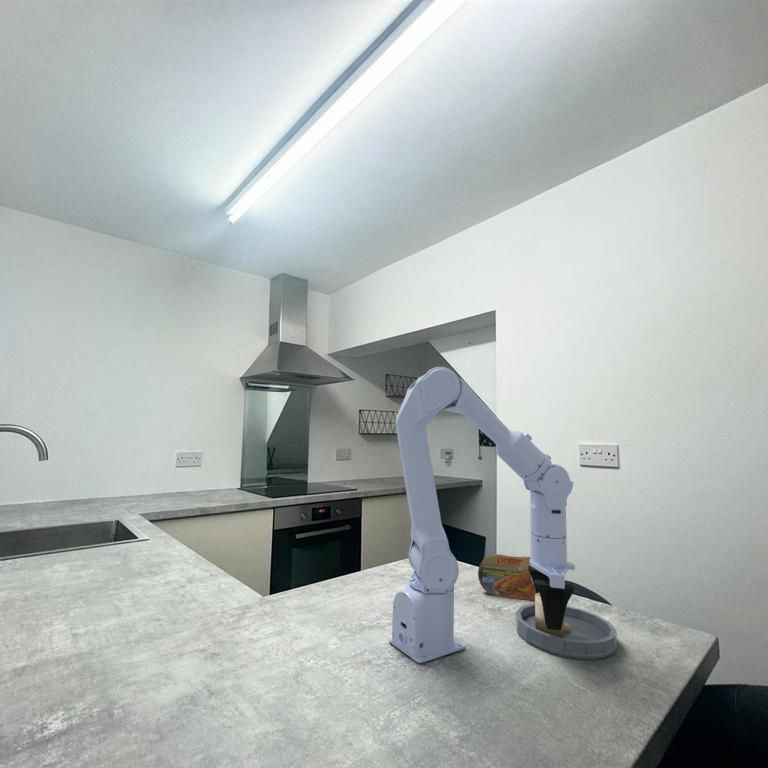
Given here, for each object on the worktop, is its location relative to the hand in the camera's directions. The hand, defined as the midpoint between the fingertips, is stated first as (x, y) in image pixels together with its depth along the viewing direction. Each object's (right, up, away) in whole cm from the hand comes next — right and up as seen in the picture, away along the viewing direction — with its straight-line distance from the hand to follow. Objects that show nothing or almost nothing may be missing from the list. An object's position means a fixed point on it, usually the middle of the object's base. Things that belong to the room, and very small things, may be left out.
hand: (549, 620), depth 70 cm
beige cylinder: (0, -2, 0) cm, 2 cm away
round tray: (+3, -4, +2) cm, 5 cm away
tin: (0, -7, +20) cm, 21 cm away
